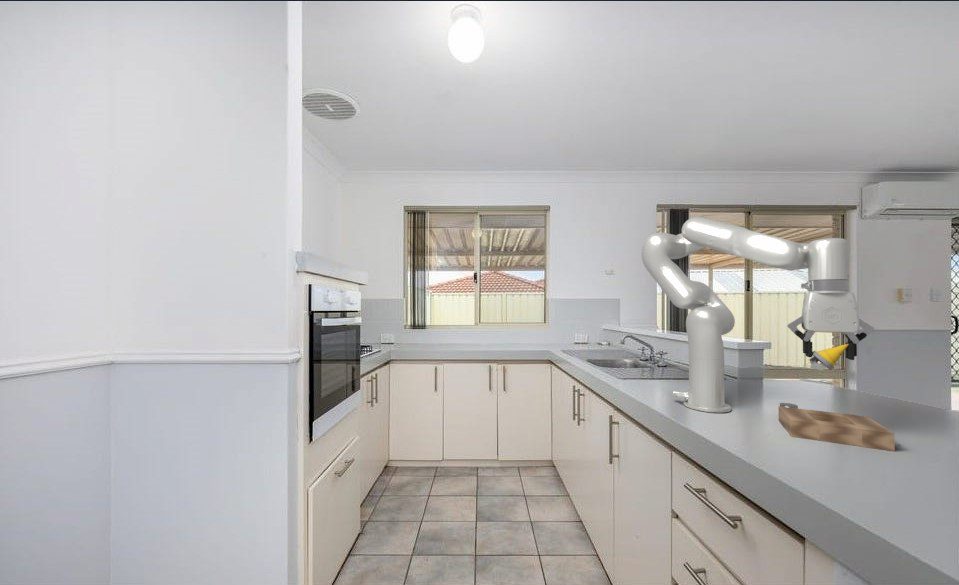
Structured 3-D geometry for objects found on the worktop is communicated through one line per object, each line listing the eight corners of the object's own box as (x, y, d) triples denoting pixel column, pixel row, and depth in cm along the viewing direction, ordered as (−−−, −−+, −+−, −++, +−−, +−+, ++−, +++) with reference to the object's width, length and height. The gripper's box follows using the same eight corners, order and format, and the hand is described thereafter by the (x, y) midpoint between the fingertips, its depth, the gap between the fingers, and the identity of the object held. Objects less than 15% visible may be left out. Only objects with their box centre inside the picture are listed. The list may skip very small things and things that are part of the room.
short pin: (781, 419, 105) (781, 405, 105) (778, 415, 108) (778, 402, 108) (799, 421, 103) (799, 407, 103) (796, 418, 106) (795, 404, 106)
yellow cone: (808, 368, 98) (846, 344, 94) (823, 380, 93) (864, 356, 89) (796, 356, 97) (833, 331, 93) (811, 368, 92) (851, 343, 88)
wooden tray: (791, 436, 91) (790, 420, 91) (778, 420, 104) (778, 406, 104) (894, 451, 83) (894, 433, 83) (867, 432, 95) (867, 416, 95)
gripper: (787, 287, 95) (788, 357, 95) (883, 286, 87) (884, 363, 86) (781, 288, 102) (781, 353, 101) (869, 287, 93) (870, 358, 93)
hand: (829, 357), depth 94 cm, fingers closed on yellow cone, 7 cm apart
